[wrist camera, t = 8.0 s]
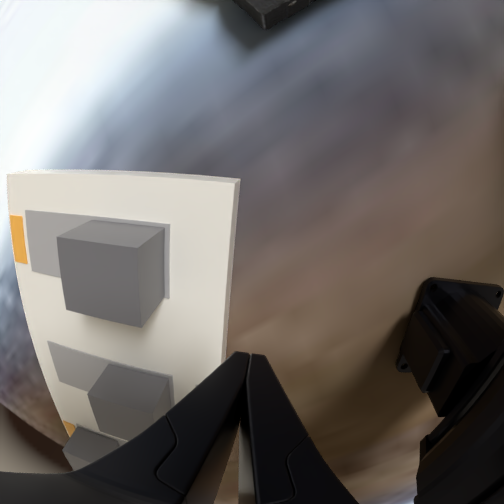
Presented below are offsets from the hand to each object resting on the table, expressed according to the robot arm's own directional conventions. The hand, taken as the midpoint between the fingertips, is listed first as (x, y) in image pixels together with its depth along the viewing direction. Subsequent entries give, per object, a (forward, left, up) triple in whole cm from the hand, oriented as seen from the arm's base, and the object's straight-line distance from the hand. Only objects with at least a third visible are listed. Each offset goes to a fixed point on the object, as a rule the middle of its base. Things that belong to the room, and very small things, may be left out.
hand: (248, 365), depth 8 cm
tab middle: (+7, +9, -6) cm, 13 cm away
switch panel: (+9, +9, -8) cm, 15 cm away
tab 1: (+7, 0, -6) cm, 9 cm away
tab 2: (+12, +18, -6) cm, 22 cm away
